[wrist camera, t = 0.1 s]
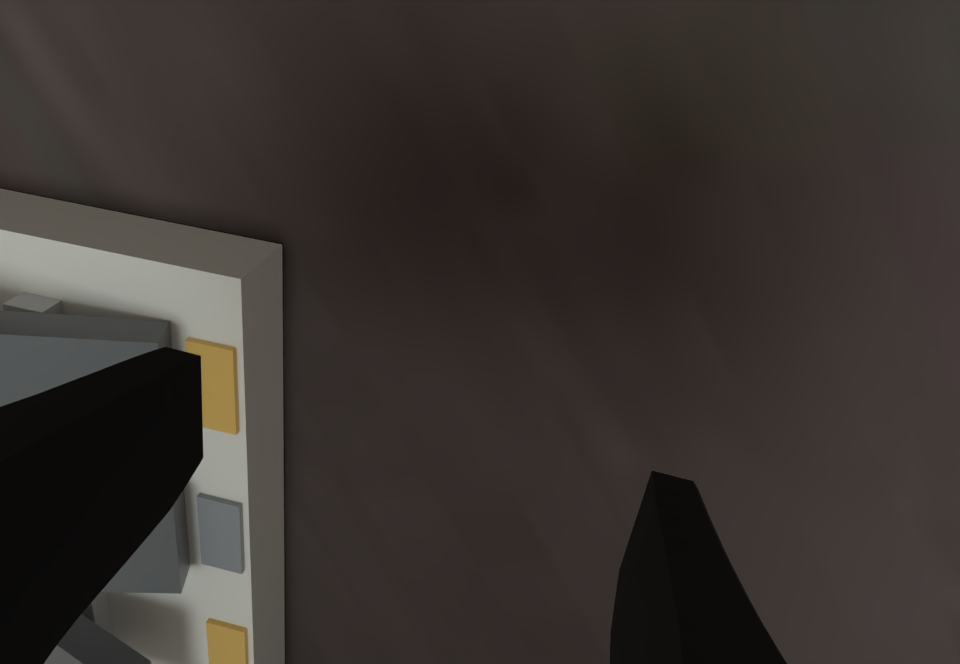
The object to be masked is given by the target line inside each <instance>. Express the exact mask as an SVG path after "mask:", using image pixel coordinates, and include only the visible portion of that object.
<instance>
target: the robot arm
mask: <svg viewBox="0 0 960 664" xmlns="http://www.w3.org/2000/svg"><path fill="white" fill-rule="evenodd" d="M202 459H203V421H202V380H201V356H200V355H196V354H192V353H188V352H184V351H181V350H177V349H173V348H169V347H163V348H160V349H156V350H153V351H150V352H147V353H144V354H141V355H139V356H136V357H133V358H130V359H128V360H125V361H122V362H120V363H117V364H114V365H112V366H109V367H107V368H104V369H101V370H99V371H96V372H94V373H91V374H89V375H86V376H83V377H81V378H78V379H75V380H73V381H70V382H68V383H65V384H62V385H60V386H57V387H54V388H52V389H49V390H46V391H44V392H41V393H39V394H36V395H33V396H30V397H27V398H24V399H21V400H18V401H15V402H13V403H10V404H7V405H4V406H1V407H0V664H44V663H45V661H46V660H47V659H48V657H49V656H50V654H51V653H52V651H53V650H54V648H55V647H56V646H57V644H58V643H59V642H60V640H61V639H62V638H63V637H64V635H65V634H66V633H67V632H68V630H69V629H70V628H71V626H72V625H73V624H74V623H75V621H76V620H77V619H78V618H79V616H80V615H81V614H82V613H83V612H84V611H85V610H86V608H87V607H88V606H89V605H90V604H91V603H92V601H93V600H94V599H95V598H96V597H97V596H98V594H99V593H100V592H101V591H102V590H103V589H104V587H105V586H106V585H107V584H108V583H109V582H110V580H111V579H112V578H113V577H114V576H115V575H116V573H117V572H118V571H119V570H120V569H121V568H122V566H123V565H124V564H125V563H126V562H127V561H128V559H129V558H130V557H131V556H132V555H133V554H134V552H135V551H136V550H137V549H138V548H139V547H140V545H141V544H142V543H143V542H144V541H145V539H146V538H147V537H148V536H149V535H150V534H151V532H152V531H153V530H154V529H155V528H156V526H157V525H158V524H159V523H160V522H161V520H162V519H163V518H164V517H165V516H166V514H167V513H168V512H169V511H170V509H171V508H172V507H173V505H174V504H175V502H176V501H177V499H178V497H179V496H180V494H181V493H182V491H183V490H184V488H185V487H186V485H187V484H188V482H189V480H190V479H191V477H192V476H193V474H194V472H195V471H196V469H197V467H198V466H199V464H200V463H201V461H202ZM610 664H787V663H786V661H785V660H784V658H783V657H782V655H781V653H780V652H779V650H778V649H777V647H776V645H775V643H774V642H773V640H772V638H771V637H770V635H769V633H768V632H767V630H766V628H765V627H764V625H763V623H762V621H761V620H760V618H759V616H758V614H757V612H756V611H755V609H754V607H753V605H752V603H751V602H750V600H749V598H748V596H747V594H746V592H745V590H744V588H743V586H742V584H741V582H740V580H739V578H738V577H737V575H736V573H735V571H734V569H733V567H732V565H731V563H730V561H729V559H728V557H727V554H726V552H725V550H724V548H723V546H722V544H721V542H720V539H719V537H718V535H717V533H716V531H715V528H714V526H713V524H712V521H711V519H710V517H709V515H708V512H707V510H706V507H705V505H704V503H703V500H702V498H701V495H700V493H699V490H698V488H697V487H696V485H695V483H694V482H693V481H690V480H686V479H682V478H678V477H675V476H671V475H667V474H663V473H659V472H655V471H652V472H651V475H650V478H649V481H648V484H647V487H646V490H645V494H644V497H643V500H642V503H641V506H640V509H639V512H638V515H637V518H636V521H635V524H634V527H633V530H632V533H631V536H630V539H629V543H628V546H627V549H626V552H625V555H624V558H623V561H622V564H621V567H620V570H619V576H618V583H617V590H616V597H615V604H614V612H613V620H612V627H611V644H610Z"/></svg>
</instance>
